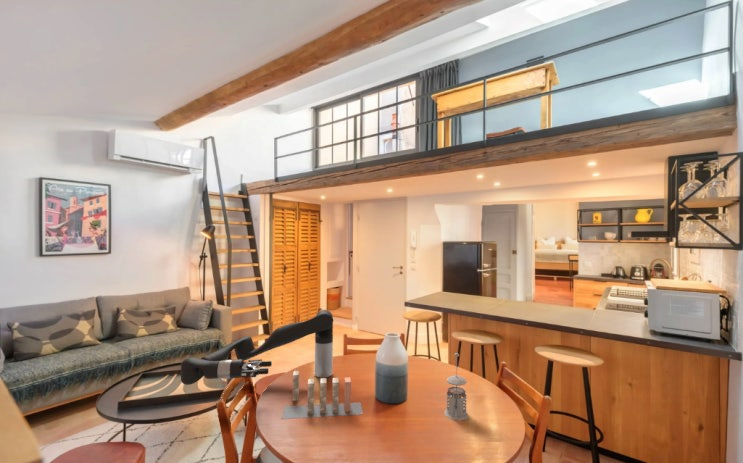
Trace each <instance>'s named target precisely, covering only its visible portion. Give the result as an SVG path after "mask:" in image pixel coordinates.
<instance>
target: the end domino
mask: <svg viewBox="0 0 743 463" xmlns="http://www.w3.org/2000/svg"><path fill="white" fill-rule="evenodd" d="M343 382H344V385H343V386H344V392H343V393H344V395H343V400H344V401H343V402H344V409H345V412H351V403H352V380H351V377H350V376H349V377H344V381H343Z"/></svg>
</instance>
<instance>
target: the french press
mask: <svg viewBox="0 0 743 463" xmlns="http://www.w3.org/2000/svg"><path fill="white" fill-rule="evenodd" d="M454 357H456V358H455V359H456V363H455V364H456V367H455V368H456V373H455V374H456V375H451V376H449V377H447V378H446V382H447V383H448V384H449V385H452V386H450V387H448V388H447V392H446V409H445V411H443V412H444V415H445V416H446V418H448V419H450V420H453V421H465V420H467V419H469V413H468V412H467V394H466V390H465V389H464V388H463V387H459V386H465V385H466V384H467V379H465V378H464V377H462V376H459V375H458V357H460V354H459V353H458V352H454Z"/></svg>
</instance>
